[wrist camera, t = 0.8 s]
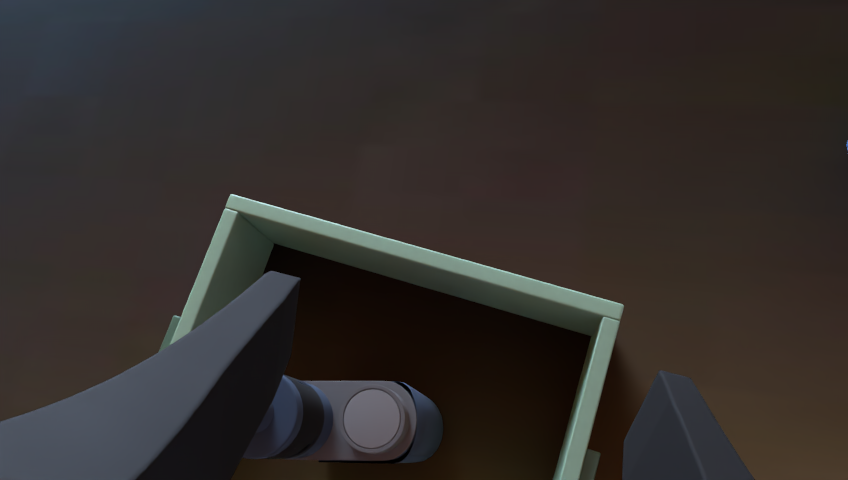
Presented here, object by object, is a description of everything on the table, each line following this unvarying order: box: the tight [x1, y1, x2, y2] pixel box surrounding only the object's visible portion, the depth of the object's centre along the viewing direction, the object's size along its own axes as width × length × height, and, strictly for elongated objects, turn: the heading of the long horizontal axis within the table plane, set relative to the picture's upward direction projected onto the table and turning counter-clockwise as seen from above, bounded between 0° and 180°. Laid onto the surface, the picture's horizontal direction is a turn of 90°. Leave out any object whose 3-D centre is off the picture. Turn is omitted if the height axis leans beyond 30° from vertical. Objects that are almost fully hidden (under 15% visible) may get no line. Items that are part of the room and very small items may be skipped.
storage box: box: [159, 194, 624, 480], centre depth 28 cm, size 13×16×4 cm
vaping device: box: [242, 374, 443, 464], centre depth 24 cm, size 3×5×12 cm, turn 89°
